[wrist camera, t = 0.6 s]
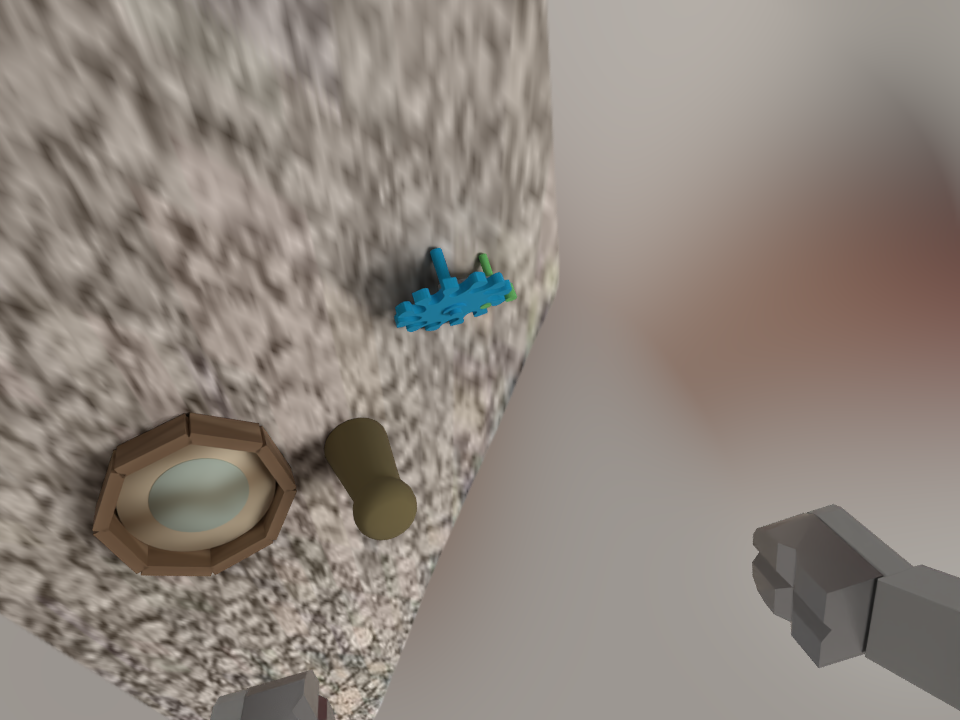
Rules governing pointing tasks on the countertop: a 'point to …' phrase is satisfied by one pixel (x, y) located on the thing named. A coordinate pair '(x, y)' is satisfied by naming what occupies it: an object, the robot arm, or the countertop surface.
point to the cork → (371, 478)
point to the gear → (454, 297)
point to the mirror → (193, 496)
